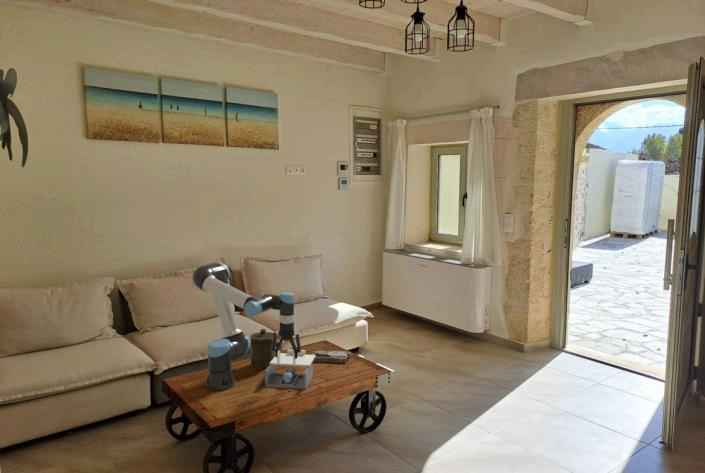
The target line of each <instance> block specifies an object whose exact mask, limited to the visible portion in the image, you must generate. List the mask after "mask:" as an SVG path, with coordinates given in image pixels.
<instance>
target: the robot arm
mask: <svg viewBox="0 0 705 473" xmlns="http://www.w3.org/2000/svg"><path fill="white" fill-rule="evenodd" d="M230 271H231V270H230V268H228V266H227V265H226V264H224V263H222V262H213V263H209V264H205V265H201V266H198V267H197V268H195V270H194V271H193V272H192V279H191V280H192V283H193V284H194V286H195V287H196V288H198V289H199V290H200V291H203V292H205V293H208V292H209V293H211V294H212V298H213V302H214V305H215V308H216V312H217V315H218V318H219V322H220V326H221V329H222V332H223V334H222V336H221V338H219V339H215V340H213V341H211V342H210V343H209V344H208V346H207V358H208V362H207V363H208V365H207V366H208V373H207V377H206V380H205V388H206V389H207V390H210V391H225V390H228V389H230V388H232V387H234V386H235V384H236V379H235V376H234V373H233V371H232V362H233V361H234V360H237V359H239V358H240V357H243V356H244V355H245V354H247V353H248V352H249V350H251V338H250V337H249V336H248V335H247V334H246V333H244V331H243V329H240V328H239V324H238V320H237V317H236V313H235V310H234V306H237V307H239V308H241V309H243V310H244V313H245V314H246V315H247V316H248V317H255V316H256V317H257V316H259V315H261V314H263V313H266V312H268V311H270V310H277V311H279V329H278V331H274V332H273V333H274V340H273V346H272V350H273V351H275V352H276V358H277V364H279V363H280V353H281V350H280V349H281V345H282V344H283V341H285V340H286V341H289V343H290V345H291V347H292V348H291V349H292V350H294V353H293V365H295V364H296V359H297V357H298V352H300V351H301V350H302V346H301V340H300V335H301V333H300V332H298V333H297V332H295V294H294V293H293V292H291V291H283V292H281V293H279V295H278V294H272V293H261V295H260V296H259V297H258V298H256V297H254V296H252V295H250V294H247V293H245V292H244V291H242V290H240V289H238V288H236V287H234V286H231V285H230V284H229V279H230V277H231V272H230ZM233 305H234V306H233ZM278 336H280V339H279V341H278ZM294 337H295V340H294ZM277 341H278V344H277ZM295 341H296V343H295Z"/></svg>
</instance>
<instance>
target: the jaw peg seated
mask: <svg viewBox="0 0 705 473" xmlns="http://www.w3.org/2000/svg"><path fill="white" fill-rule="evenodd" d="M286 372H291V373H292V375H293V379H295V374H296V373H297V369H296V366H288V367H287V368H286V370H285V373H286Z"/></svg>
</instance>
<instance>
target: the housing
mask: <svg viewBox="0 0 705 473" xmlns="http://www.w3.org/2000/svg"><path fill="white" fill-rule="evenodd" d="M313 365H314V363H313V362H312V363H311V365H310V367H307V366H306V368H305V370H304V371H303V374H301V373H295V379H293V378H292V384H284V379H283V375H284V373H285V372H277V365H269V366H268V368H265V369H264V386H265V387H266V388H267V387H268V388H280V389H281V388H283V389H284V388H286V389H299V390H300V389H301V390H307V389H308V387H309V384H310V383H311V381H312V379H313V378H314V375H313V374H314V370H313V369H314V368H313V367H314V366H313Z"/></svg>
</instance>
